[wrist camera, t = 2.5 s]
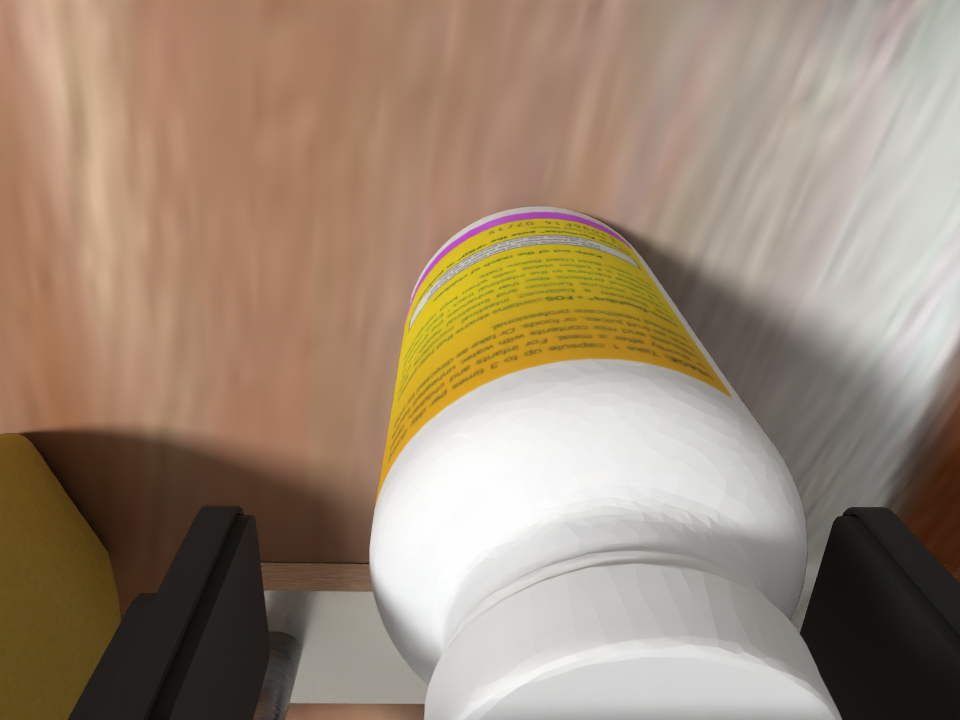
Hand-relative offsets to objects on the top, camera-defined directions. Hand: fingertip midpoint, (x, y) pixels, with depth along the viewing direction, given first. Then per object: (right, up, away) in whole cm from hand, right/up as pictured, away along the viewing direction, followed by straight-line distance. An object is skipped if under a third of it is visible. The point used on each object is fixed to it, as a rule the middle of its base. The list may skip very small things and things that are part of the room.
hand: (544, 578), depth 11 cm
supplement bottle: (0, +5, +8) cm, 9 cm away
